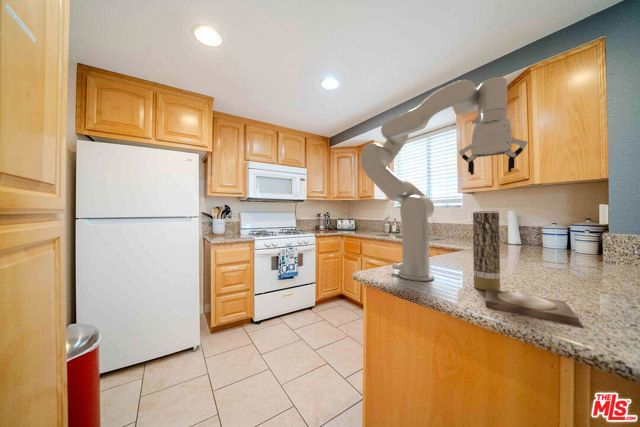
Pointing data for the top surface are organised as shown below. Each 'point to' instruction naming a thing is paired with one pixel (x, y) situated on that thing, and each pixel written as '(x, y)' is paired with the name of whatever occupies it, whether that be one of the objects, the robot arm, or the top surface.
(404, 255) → the robot arm
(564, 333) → the top surface
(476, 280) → the brown cylinder
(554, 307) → the walnut board
